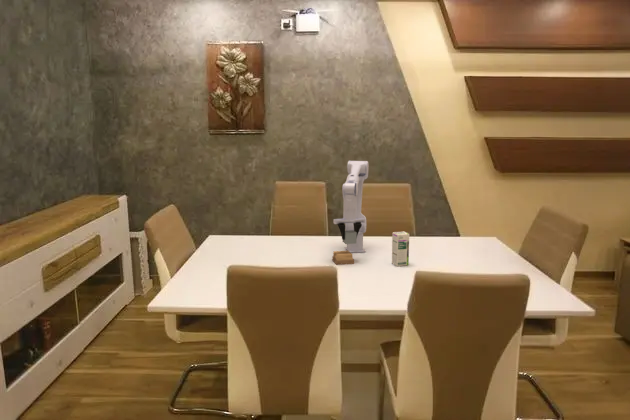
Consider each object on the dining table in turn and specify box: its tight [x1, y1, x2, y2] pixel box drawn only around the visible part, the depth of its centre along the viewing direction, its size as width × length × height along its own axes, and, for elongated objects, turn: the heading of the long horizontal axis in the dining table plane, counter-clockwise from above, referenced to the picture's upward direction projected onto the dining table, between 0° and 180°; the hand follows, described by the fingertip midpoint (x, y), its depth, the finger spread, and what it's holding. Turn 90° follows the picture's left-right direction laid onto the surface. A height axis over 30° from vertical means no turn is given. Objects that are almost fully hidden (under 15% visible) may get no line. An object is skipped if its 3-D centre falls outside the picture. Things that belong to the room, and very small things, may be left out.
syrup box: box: [391, 231, 410, 267], centre depth 241 cm, size 6×6×14 cm
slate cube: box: [342, 230, 357, 245], centre depth 244 cm, size 5×5×5 cm
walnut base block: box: [331, 255, 355, 266], centre depth 245 cm, size 8×8×2 cm
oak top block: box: [332, 250, 354, 261], centre depth 244 cm, size 7×7×2 cm
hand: (349, 239), depth 244 cm, fingers closed on slate cube, 5 cm apart
